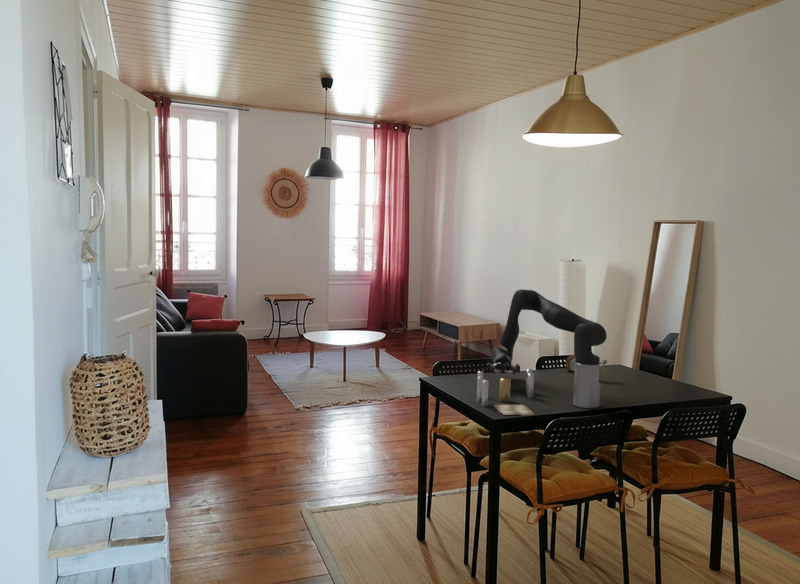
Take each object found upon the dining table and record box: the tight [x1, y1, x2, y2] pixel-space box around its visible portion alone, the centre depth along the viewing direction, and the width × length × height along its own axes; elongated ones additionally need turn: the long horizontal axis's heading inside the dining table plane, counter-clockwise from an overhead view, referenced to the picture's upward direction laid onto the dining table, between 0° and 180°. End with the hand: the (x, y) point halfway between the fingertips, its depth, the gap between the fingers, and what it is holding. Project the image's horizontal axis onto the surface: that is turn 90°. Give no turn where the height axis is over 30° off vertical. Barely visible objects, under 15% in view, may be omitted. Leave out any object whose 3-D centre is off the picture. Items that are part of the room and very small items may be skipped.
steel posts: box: [476, 368, 535, 407], centre depth 251 cm, size 28×24×10 cm
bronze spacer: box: [498, 377, 512, 403], centre depth 248 cm, size 4×4×9 cm
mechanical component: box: [599, 359, 608, 369], centre depth 292 cm, size 3×10×10 cm, turn 79°
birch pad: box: [493, 404, 535, 416], centre depth 233 cm, size 12×12×1 cm
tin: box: [564, 354, 576, 373], centre depth 311 cm, size 15×3×8 cm, turn 122°
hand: (503, 371), depth 259 cm, fingers open, 8 cm apart
